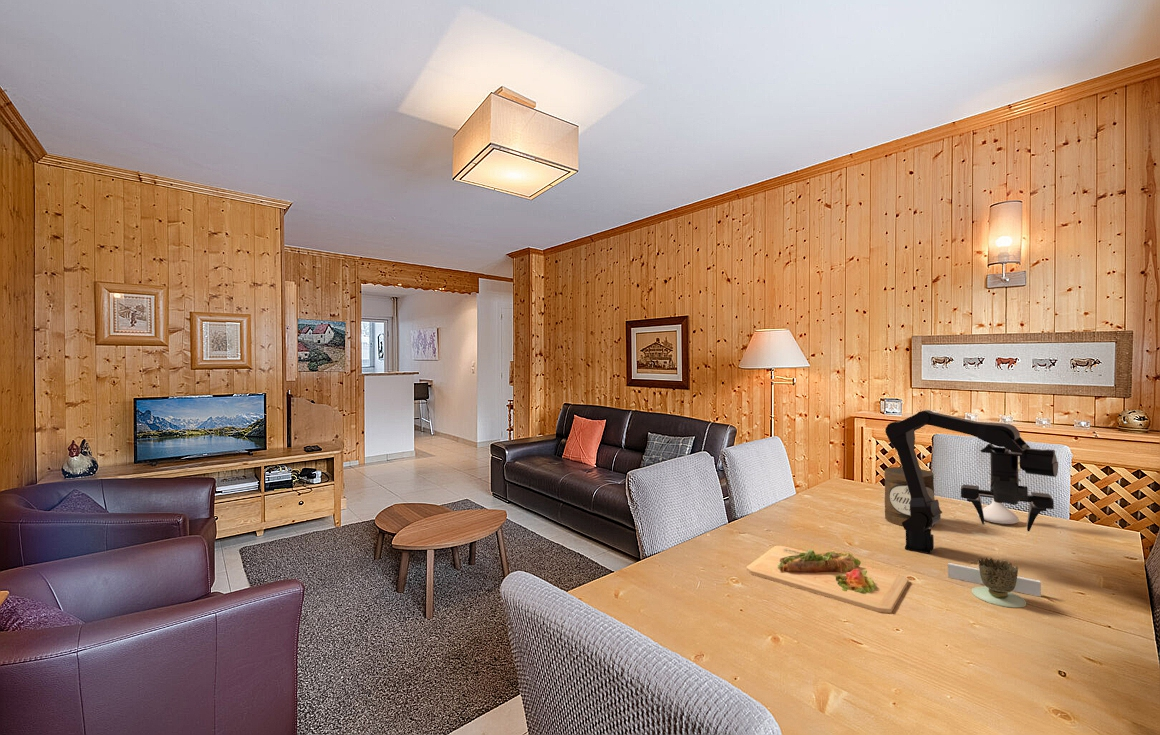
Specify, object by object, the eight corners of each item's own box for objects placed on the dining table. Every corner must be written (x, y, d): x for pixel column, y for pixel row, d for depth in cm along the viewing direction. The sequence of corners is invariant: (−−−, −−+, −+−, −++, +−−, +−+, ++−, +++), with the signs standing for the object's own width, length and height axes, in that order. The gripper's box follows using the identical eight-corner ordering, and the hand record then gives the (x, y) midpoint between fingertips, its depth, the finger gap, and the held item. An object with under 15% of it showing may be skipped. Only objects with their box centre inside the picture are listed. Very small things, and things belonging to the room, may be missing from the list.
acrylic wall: (948, 577, 129) (947, 564, 129) (948, 575, 129) (948, 562, 129) (1041, 596, 117) (1040, 582, 117) (1040, 594, 118) (1040, 580, 118)
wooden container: (892, 526, 168) (891, 464, 168) (879, 513, 182) (878, 455, 182) (942, 530, 163) (941, 465, 163) (925, 516, 178) (924, 457, 177)
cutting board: (909, 583, 127) (909, 554, 127) (889, 618, 110) (889, 586, 110) (777, 549, 151) (776, 526, 151) (743, 574, 135) (743, 547, 135)
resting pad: (971, 599, 117) (971, 598, 117) (972, 584, 124) (972, 583, 124) (1027, 612, 110) (1027, 610, 110) (1024, 595, 118) (1024, 594, 118)
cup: (1026, 604, 113) (1026, 570, 113) (990, 602, 114) (990, 568, 114) (1005, 590, 120) (1004, 558, 120) (971, 588, 122) (971, 556, 122)
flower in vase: (969, 519, 173) (968, 450, 173) (987, 514, 178) (986, 447, 178) (1014, 530, 161) (1013, 456, 161) (1032, 525, 166) (1031, 452, 166)
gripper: (959, 471, 131) (960, 528, 131) (1055, 481, 119) (1056, 544, 119) (961, 464, 139) (962, 518, 140) (1050, 472, 127) (1051, 531, 128)
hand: (1005, 527), depth 131 cm, fingers open, 9 cm apart
